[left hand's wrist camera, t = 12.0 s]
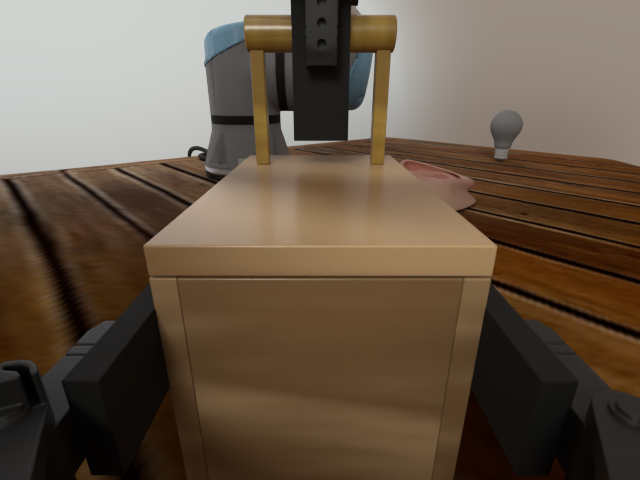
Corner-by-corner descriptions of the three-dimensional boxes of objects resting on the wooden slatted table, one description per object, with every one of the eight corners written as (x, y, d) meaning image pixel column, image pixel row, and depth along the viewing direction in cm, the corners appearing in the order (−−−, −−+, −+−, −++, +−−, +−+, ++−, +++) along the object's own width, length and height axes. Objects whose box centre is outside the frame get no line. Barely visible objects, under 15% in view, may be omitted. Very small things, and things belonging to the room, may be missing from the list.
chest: (257, 291, 26) (249, 170, 23) (382, 291, 26) (390, 171, 23) (190, 501, 13) (148, 278, 10) (449, 501, 13) (492, 278, 10)
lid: (251, 168, 24) (241, 26, 21) (389, 168, 24) (398, 27, 21) (148, 276, 10) (72, -124, 7) (492, 277, 10) (568, -123, 7)
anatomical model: (482, 180, 41) (380, 173, 45) (476, 215, 43) (378, 205, 46) (478, 162, 53) (398, 157, 56) (474, 189, 54) (396, 183, 58)
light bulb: (490, 162, 76) (499, 110, 73) (481, 157, 82) (488, 109, 78) (520, 162, 76) (530, 111, 72) (508, 157, 81) (517, 109, 78)
